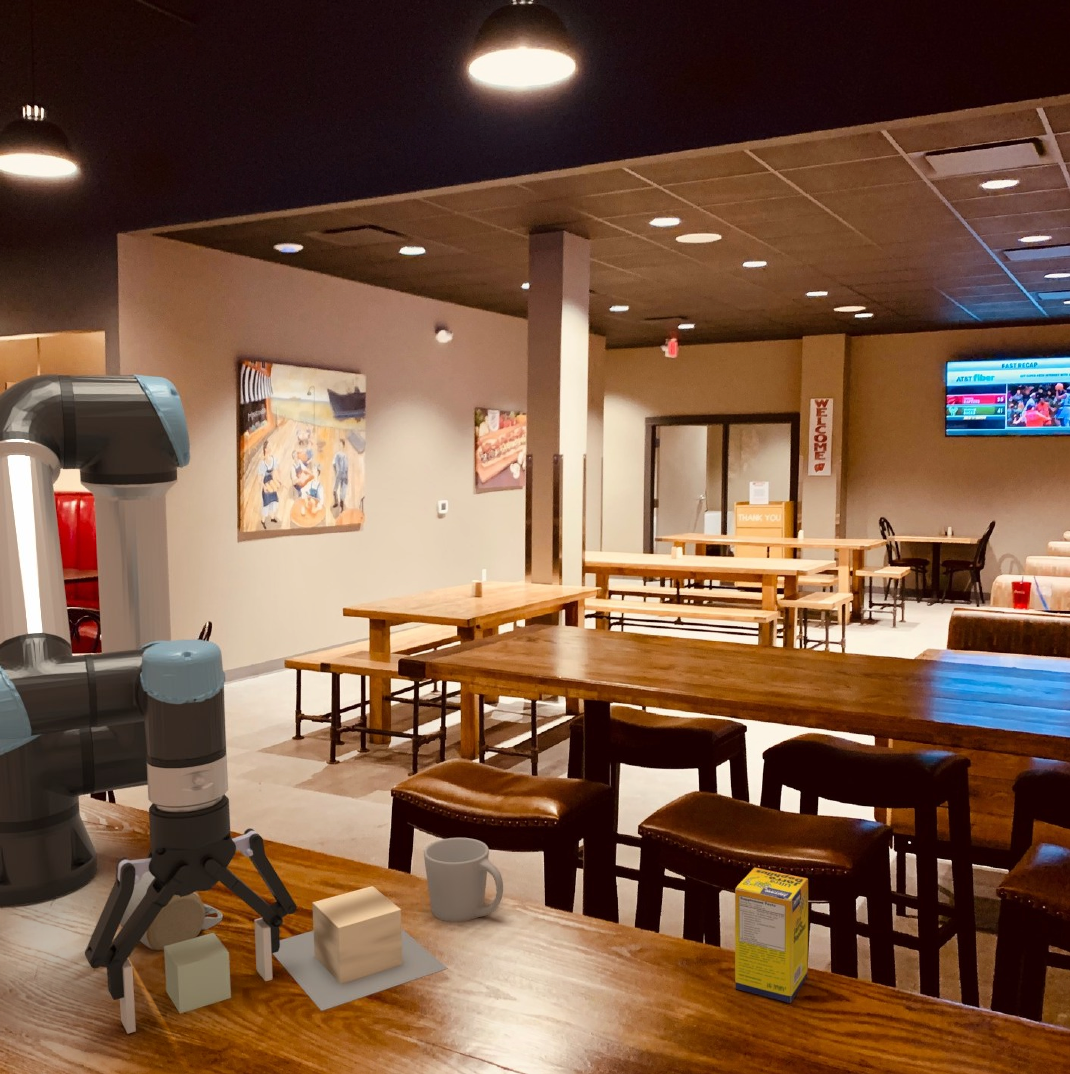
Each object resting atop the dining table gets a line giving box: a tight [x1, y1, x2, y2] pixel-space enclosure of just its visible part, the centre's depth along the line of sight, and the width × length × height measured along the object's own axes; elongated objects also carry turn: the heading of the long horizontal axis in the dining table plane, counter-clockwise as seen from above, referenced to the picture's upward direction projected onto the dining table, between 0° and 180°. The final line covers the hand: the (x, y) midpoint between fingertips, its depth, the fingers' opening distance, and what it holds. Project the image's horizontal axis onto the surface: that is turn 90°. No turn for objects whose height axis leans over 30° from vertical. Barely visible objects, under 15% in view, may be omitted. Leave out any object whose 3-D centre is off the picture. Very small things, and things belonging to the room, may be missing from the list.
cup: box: [423, 837, 504, 923], centre depth 122 cm, size 8×10×8 cm
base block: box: [312, 885, 403, 984], centre depth 111 cm, size 7×7×6 cm
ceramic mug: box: [119, 871, 224, 951], centre depth 119 cm, size 11×8×8 cm
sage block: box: [163, 932, 232, 1015], centre depth 105 cm, size 5×5×6 cm
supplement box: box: [734, 867, 809, 1004], centre depth 107 cm, size 6×6×11 cm
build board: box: [272, 927, 449, 1012], centre depth 112 cm, size 16×14×1 cm
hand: (199, 1004), depth 105 cm, fingers open, 13 cm apart
